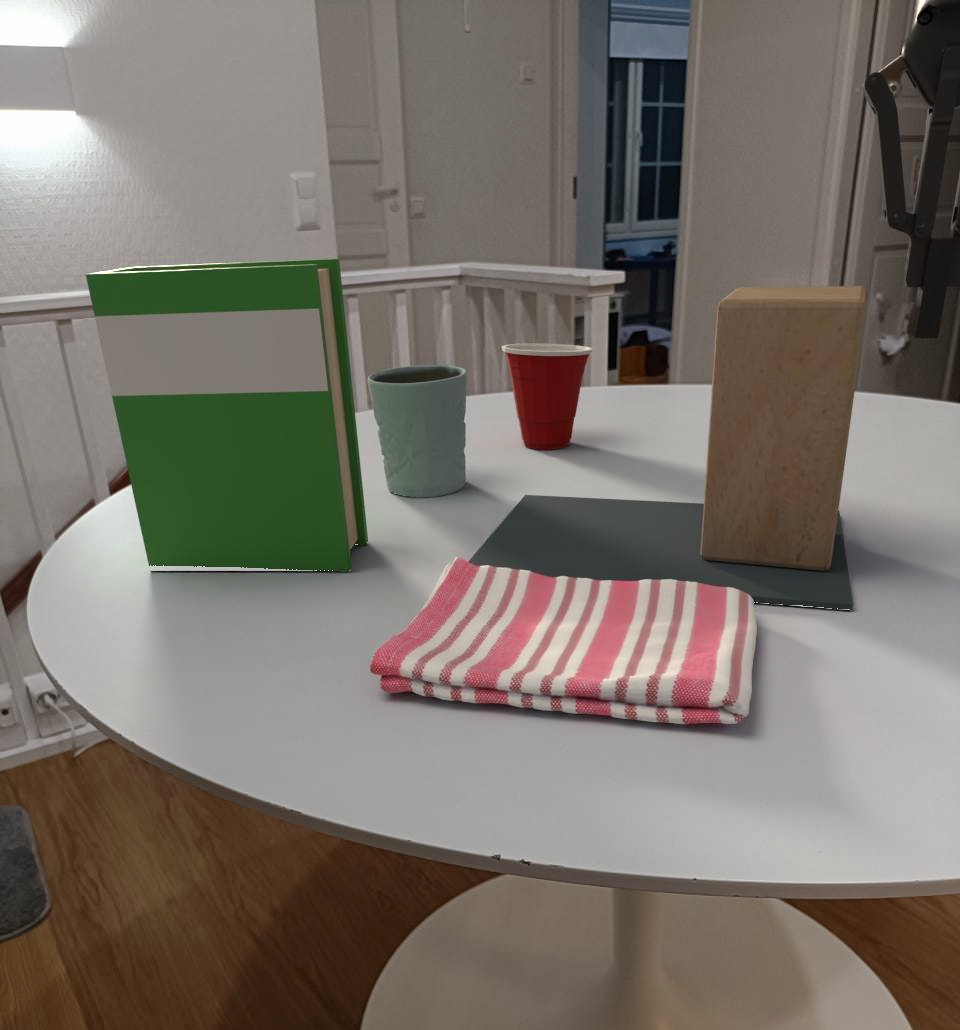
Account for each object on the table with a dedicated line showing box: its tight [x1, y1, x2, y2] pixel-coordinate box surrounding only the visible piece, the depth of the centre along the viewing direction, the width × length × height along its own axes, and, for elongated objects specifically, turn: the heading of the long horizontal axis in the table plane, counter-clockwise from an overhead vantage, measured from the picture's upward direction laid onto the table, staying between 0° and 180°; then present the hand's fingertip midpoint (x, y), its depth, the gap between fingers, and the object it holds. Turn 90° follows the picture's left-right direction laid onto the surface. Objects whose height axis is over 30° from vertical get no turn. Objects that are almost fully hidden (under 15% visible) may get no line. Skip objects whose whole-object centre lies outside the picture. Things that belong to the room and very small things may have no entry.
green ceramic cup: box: [367, 364, 468, 498], centre depth 96 cm, size 10×10×12 cm
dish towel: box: [369, 556, 758, 725], centre depth 60 cm, size 17×23×4 cm
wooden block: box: [700, 285, 868, 571], centre depth 72 cm, size 10×10×20 cm
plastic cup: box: [501, 343, 594, 451], centre depth 111 cm, size 11×11×12 cm
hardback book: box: [85, 257, 369, 572], centre depth 76 cm, size 18×7×24 cm, turn 84°
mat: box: [467, 494, 854, 611], centre depth 79 cm, size 30×22×1 cm
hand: (924, 335), depth 66 cm, fingers closed
